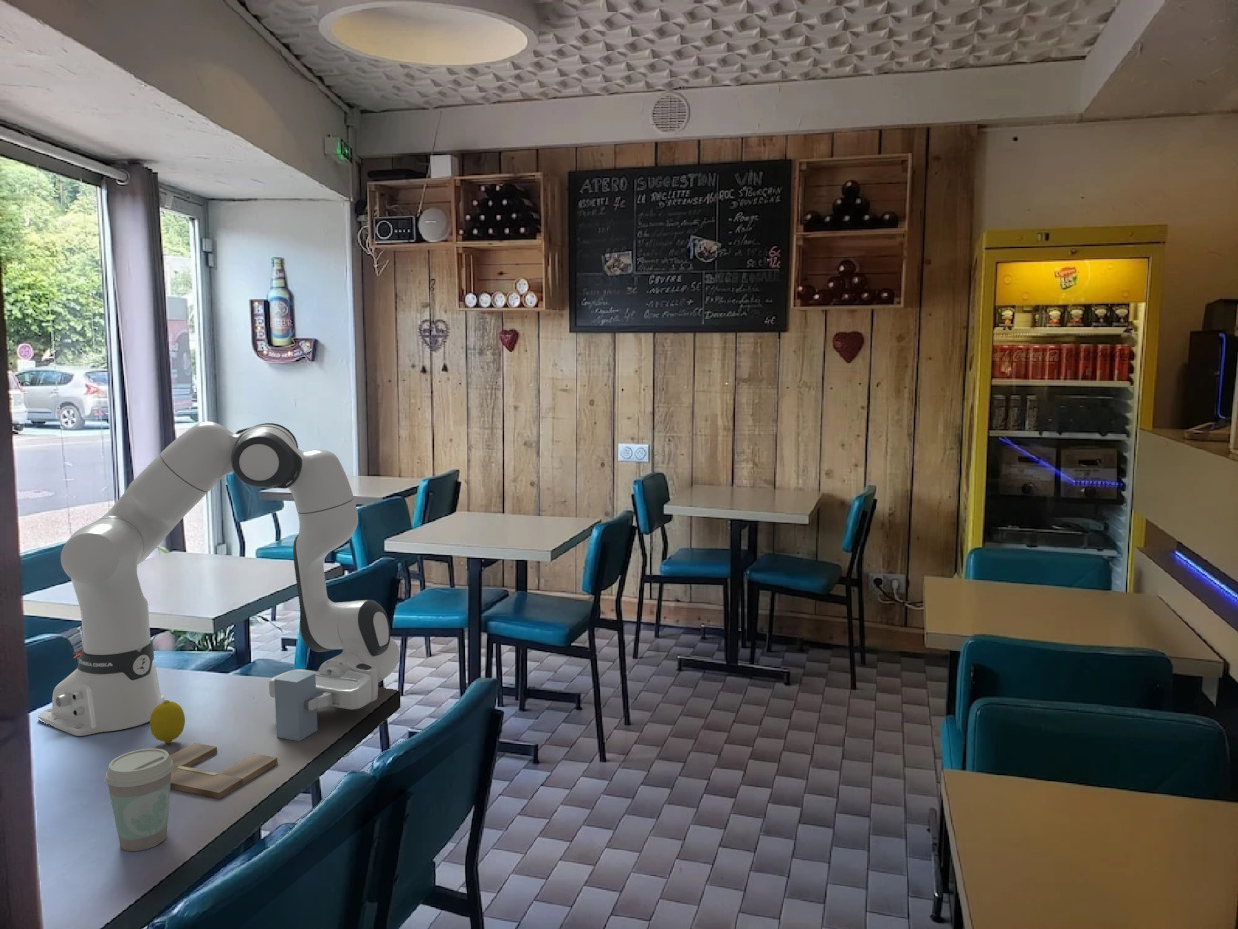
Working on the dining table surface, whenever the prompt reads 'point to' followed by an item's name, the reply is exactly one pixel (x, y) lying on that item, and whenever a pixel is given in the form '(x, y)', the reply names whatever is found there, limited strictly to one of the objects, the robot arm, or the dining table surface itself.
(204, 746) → the wooden u-shaped frame
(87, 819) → the dining table surface
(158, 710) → the lemon
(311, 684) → the blue-grey rectangular block
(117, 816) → the coffee cup
